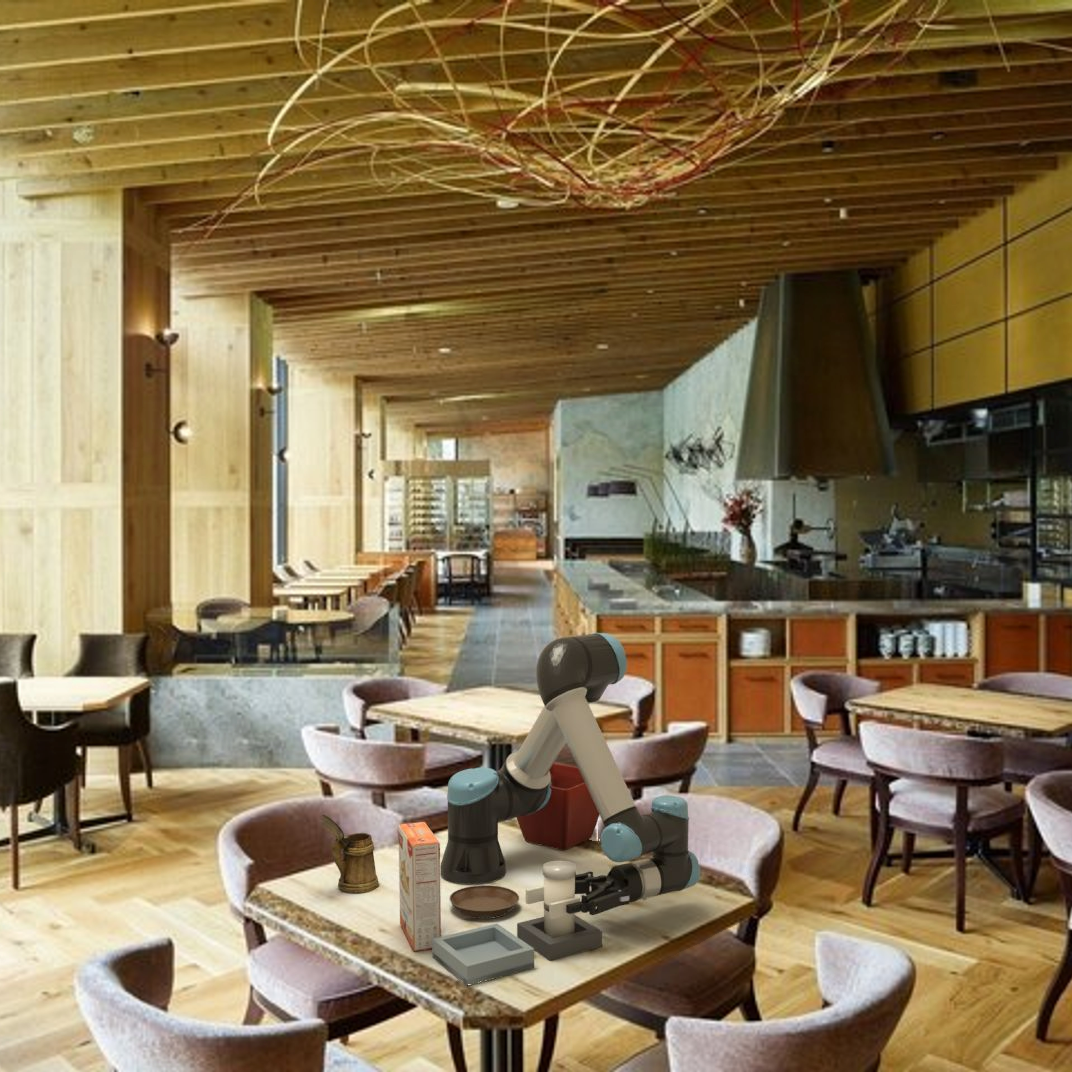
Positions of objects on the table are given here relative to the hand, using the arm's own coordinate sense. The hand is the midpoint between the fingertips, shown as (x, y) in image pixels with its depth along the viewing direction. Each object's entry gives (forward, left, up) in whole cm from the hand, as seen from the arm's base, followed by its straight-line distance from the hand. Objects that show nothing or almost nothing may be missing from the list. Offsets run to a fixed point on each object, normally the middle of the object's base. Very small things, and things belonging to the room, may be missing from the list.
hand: (538, 904), depth 200 cm
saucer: (-23, +1, -9) cm, 25 cm away
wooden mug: (-49, -19, -9) cm, 53 cm away
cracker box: (-17, -17, -9) cm, 26 cm away
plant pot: (-53, +39, -9) cm, 66 cm away
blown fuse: (0, +5, -8) cm, 10 cm away
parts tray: (0, -12, -8) cm, 15 cm away
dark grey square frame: (0, +5, -8) cm, 10 cm away
